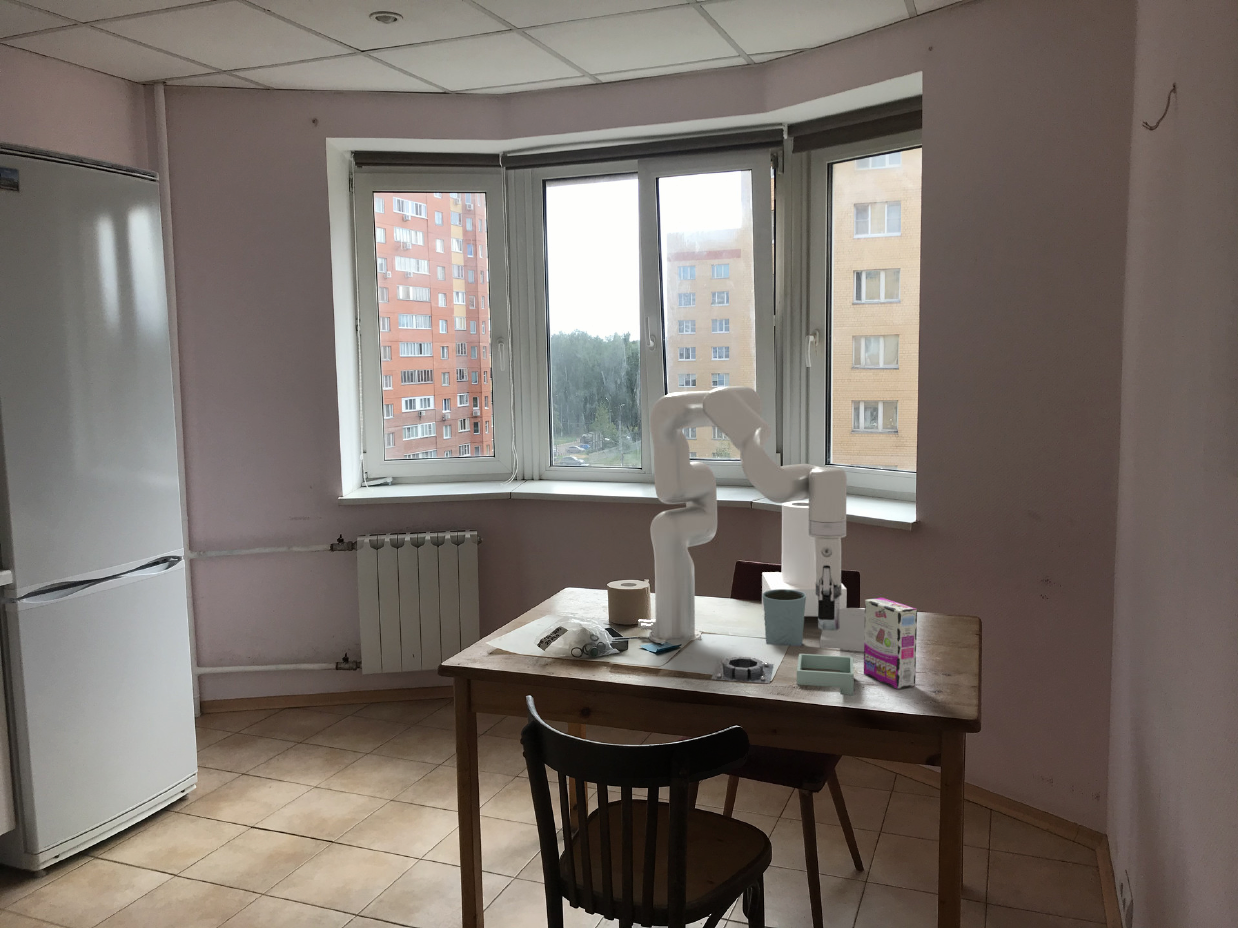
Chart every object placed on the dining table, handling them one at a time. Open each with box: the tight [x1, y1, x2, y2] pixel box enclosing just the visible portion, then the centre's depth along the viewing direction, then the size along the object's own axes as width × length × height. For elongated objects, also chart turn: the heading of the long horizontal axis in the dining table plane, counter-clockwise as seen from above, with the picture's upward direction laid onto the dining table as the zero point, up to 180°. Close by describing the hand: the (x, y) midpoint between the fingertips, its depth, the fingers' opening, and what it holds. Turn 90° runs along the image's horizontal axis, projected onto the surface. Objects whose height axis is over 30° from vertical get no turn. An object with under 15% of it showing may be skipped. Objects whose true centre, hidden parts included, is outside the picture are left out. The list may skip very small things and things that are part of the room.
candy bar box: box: [863, 597, 918, 690], centre depth 193 cm, size 11×5×16 cm, turn 24°
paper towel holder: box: [761, 500, 848, 617], centre depth 239 cm, size 19×19×30 cm
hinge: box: [819, 607, 865, 653], centre depth 216 cm, size 17×5×10 cm, turn 67°
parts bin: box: [796, 653, 855, 696], centre depth 192 cm, size 11×11×4 cm
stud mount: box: [711, 656, 775, 684], centre depth 196 cm, size 12×12×3 cm
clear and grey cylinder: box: [816, 581, 843, 631], centre depth 190 cm, size 5×5×9 cm
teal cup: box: [763, 589, 806, 647], centre depth 219 cm, size 10×10×12 cm
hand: (826, 614), depth 190 cm, fingers closed on clear and grey cylinder, 4 cm apart
